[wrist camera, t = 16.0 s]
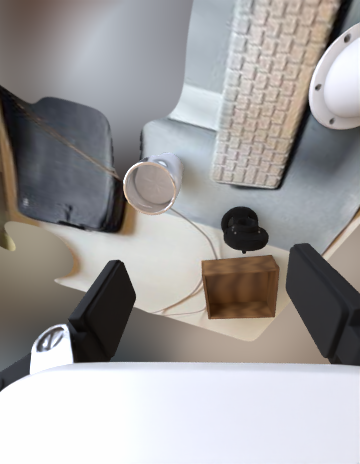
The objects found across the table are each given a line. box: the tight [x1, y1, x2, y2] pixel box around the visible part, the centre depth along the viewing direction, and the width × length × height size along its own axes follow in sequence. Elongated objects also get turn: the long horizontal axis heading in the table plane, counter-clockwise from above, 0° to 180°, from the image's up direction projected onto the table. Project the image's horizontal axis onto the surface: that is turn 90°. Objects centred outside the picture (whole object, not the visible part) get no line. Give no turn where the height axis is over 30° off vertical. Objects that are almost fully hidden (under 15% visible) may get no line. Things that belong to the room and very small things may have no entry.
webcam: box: [221, 207, 269, 254], centre depth 35 cm, size 8×8×10 cm
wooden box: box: [202, 255, 280, 319], centre depth 45 cm, size 16×15×5 cm
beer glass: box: [124, 152, 184, 215], centre depth 29 cm, size 7×7×15 cm
